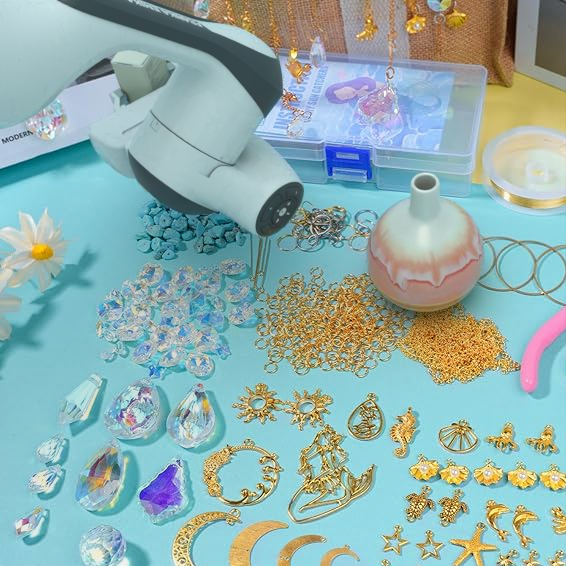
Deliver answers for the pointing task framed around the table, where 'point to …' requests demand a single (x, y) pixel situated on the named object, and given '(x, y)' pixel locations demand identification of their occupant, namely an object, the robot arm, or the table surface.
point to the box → (139, 73)
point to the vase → (425, 250)
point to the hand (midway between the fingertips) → (142, 81)
